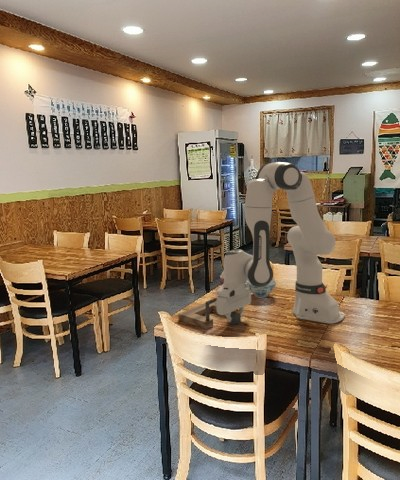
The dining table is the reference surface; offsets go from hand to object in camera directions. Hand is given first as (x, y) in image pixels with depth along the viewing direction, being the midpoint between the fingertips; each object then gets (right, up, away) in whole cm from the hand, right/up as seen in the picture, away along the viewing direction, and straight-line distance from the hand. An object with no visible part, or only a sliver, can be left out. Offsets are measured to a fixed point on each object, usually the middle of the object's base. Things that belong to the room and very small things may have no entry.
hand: (234, 318), depth 174 cm
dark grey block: (0, -2, 0) cm, 2 cm away
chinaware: (+16, +5, +35) cm, 39 cm away
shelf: (-11, -1, +8) cm, 13 cm away
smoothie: (-1, +3, +25) cm, 25 cm away
